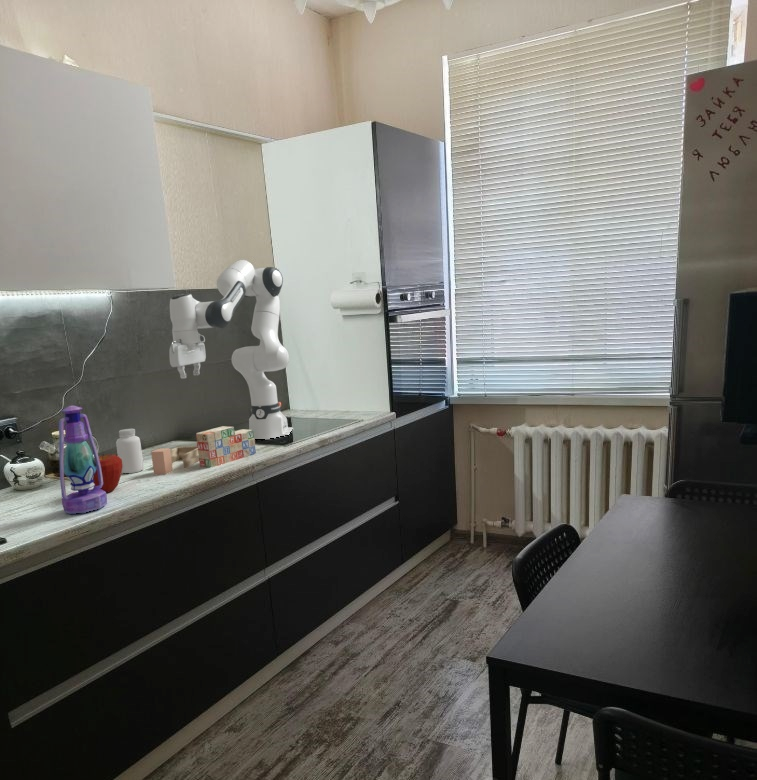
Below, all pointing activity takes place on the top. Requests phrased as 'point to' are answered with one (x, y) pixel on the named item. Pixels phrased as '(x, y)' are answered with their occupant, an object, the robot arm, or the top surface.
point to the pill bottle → (129, 451)
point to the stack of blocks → (224, 445)
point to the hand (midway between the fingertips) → (190, 376)
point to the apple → (109, 472)
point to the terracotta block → (162, 461)
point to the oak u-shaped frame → (185, 455)
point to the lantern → (79, 464)
